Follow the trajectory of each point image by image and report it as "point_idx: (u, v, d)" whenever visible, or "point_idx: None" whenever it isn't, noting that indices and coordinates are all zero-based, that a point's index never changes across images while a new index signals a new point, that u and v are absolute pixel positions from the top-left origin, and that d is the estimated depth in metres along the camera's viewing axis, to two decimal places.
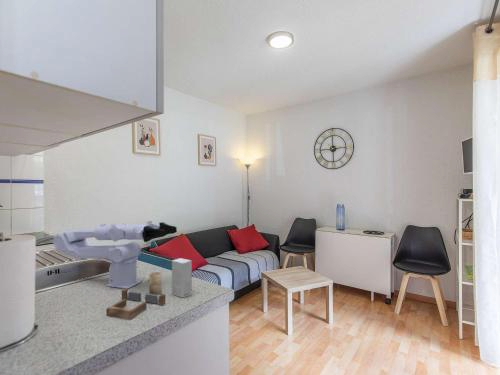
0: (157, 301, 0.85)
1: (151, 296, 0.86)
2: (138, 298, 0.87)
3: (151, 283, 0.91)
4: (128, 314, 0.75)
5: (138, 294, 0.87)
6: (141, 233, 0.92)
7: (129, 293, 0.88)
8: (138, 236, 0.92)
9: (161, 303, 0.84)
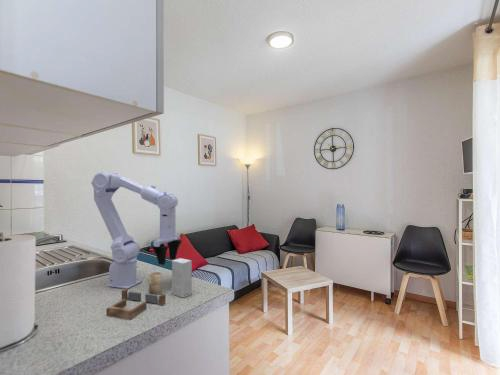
0: (157, 301, 0.85)
1: (151, 296, 0.86)
2: (138, 298, 0.87)
3: (151, 283, 0.91)
4: (128, 314, 0.75)
5: (138, 294, 0.87)
6: None
7: (129, 293, 0.88)
8: (154, 244, 0.93)
9: (161, 303, 0.84)
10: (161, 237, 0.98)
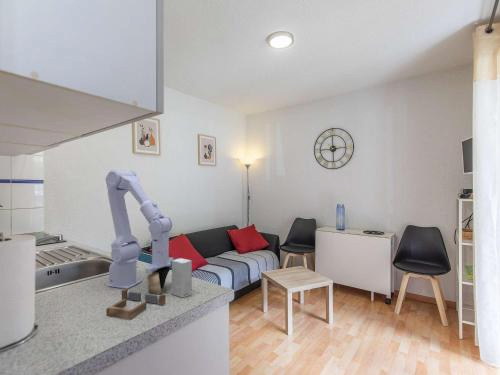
0: (157, 301, 0.85)
1: (151, 296, 0.86)
2: (138, 298, 0.87)
3: (149, 284, 0.90)
4: (128, 314, 0.75)
5: (138, 294, 0.87)
6: None
7: (129, 293, 0.88)
8: (146, 271, 0.89)
9: (161, 303, 0.84)
10: (153, 263, 0.94)
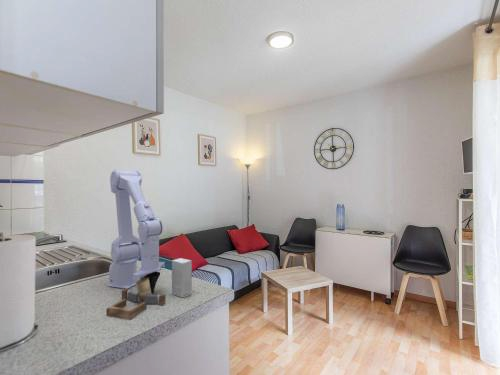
0: (157, 301, 0.85)
1: (150, 297, 0.85)
2: (135, 299, 0.86)
3: (139, 290, 0.85)
4: (128, 314, 0.75)
5: (135, 295, 0.86)
6: None
7: (128, 293, 0.88)
8: (134, 277, 0.83)
9: (161, 303, 0.84)
10: (142, 268, 0.88)
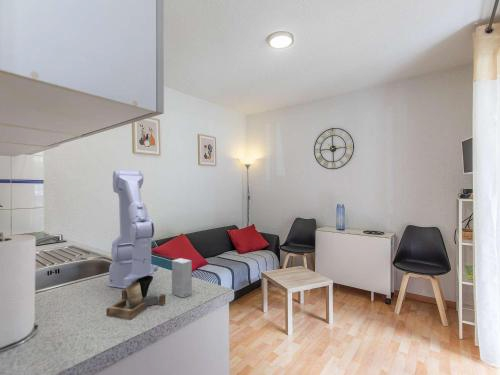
0: (158, 301, 0.85)
1: (150, 298, 0.84)
2: None
3: (130, 296, 0.81)
4: (128, 314, 0.75)
5: None
6: None
7: None
8: (124, 282, 0.79)
9: (161, 303, 0.84)
10: (134, 272, 0.84)
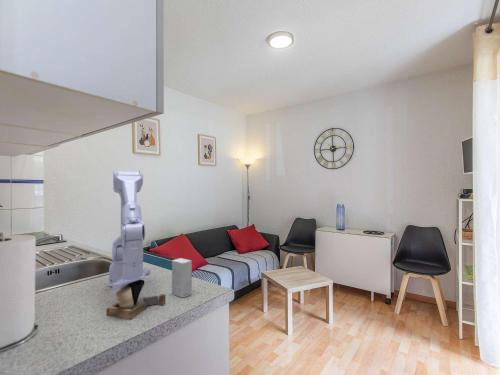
0: (158, 301, 0.85)
1: (150, 298, 0.84)
2: None
3: (120, 302, 0.77)
4: (128, 314, 0.75)
5: None
6: None
7: None
8: (114, 287, 0.75)
9: (161, 303, 0.84)
10: (124, 276, 0.80)
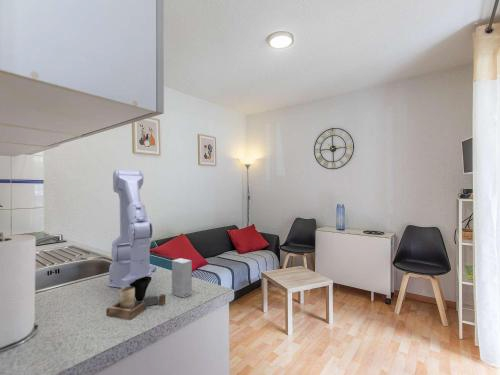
0: (158, 301, 0.85)
1: (150, 298, 0.84)
2: None
3: (123, 300, 0.78)
4: (128, 314, 0.75)
5: None
6: None
7: None
8: (122, 283, 0.78)
9: (161, 303, 0.84)
10: (132, 273, 0.83)
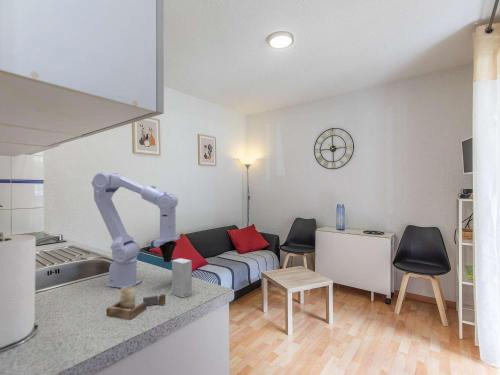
0: (158, 301, 0.85)
1: (150, 298, 0.84)
2: None
3: (123, 300, 0.78)
4: (128, 314, 0.75)
5: None
6: None
7: None
8: (154, 244, 0.93)
9: (161, 303, 0.84)
10: (161, 237, 0.98)
